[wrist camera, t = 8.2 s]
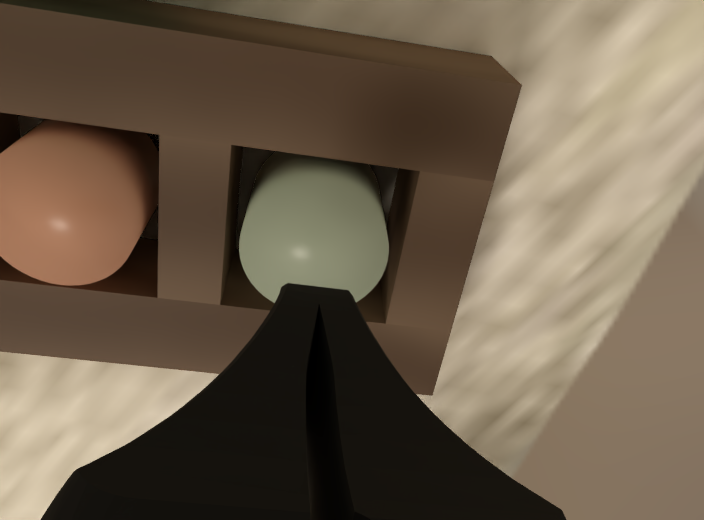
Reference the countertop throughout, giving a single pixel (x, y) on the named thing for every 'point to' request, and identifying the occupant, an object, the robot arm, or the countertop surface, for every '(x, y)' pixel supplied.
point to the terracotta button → (75, 200)
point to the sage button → (314, 226)
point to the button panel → (226, 161)
